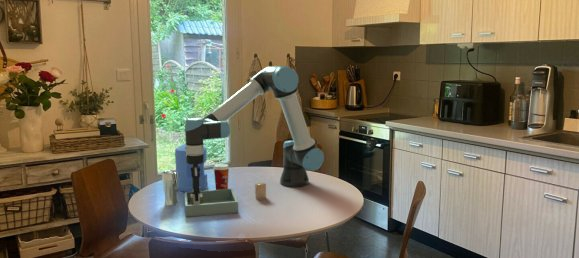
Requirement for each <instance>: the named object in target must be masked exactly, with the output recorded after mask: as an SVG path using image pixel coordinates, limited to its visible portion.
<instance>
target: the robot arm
mask: <svg viewBox="0 0 579 258" xmlns="http://www.w3.org/2000/svg"><path fill="white" fill-rule="evenodd" d="M299 79H300V78H299V76H298V73H297V72H296V70H295V69H294V68H292V67H291V66H286V65H269V66H267V67H265V68H263V69H261V70H260V71H259V72H258V73H257V74H255V75H254V76H252V77H251V78H250V79H249V83H247V84H246V85H244V86H243V87H242V88H241V89H239V90H238V91H237V92H236V93H235V94H233V95H232V96H230V97H229V98H228V99H227V100H225V101H224V102H223V103H221V104H220V105H219V106H218V107H217V108H215V109H214V110H213V111H211V112H210V113H208V114H207V115H206V116H203V117H190V118H187V119H185V120H184V121H185V122H184V136H185V143H186V147H184V149H186V154H187V155H186V163H187V164H192V167H191V175H192V178H193V185H192V186H193V193H192V194H193V202H194V204H200V191H199V189H200V187H199V177H200V166H198V164H201V163H203V162H204V155H203V153H204V147H205V146H204V141H205V140H216V139H226V138H228V137H230V134H231V127H230V123H229V122H228V120H229V119H231V118H232V117H233V116H234V115H236V114H237V113H239V112H240V111H241V110H242V109H243V108H245V107H246V106H247V105H248V104H250V103H251V102H252V101H253V100H255V99H256V98H257V97H258V96H260V95H261V96H263V95H265V93H267V92H270V91H272V94H273V97H274V98H275V99H276V100H278V101H279V104H280V106H281V110H282V112H283V115H284V118H285V121H286V123H287V127H288V129H289V133H290V135H291V138H292V140H285V141H284V142H283V146H282V147H283V148H282V150H283V151H282V152H283V161H282V163H283V170H282V171H281V176H280V181H279V184H280V185H282V186H284V187H291V188H293V187H295V188H296V187H299V188H300V187H305V186H308V185H309V184H308V183H310V182H309V180H310V179H309V176H308V171H310V172H313V171H314V172H315V171H317V170H319V169H320V168H321V167H322V165H323V163H324V160H325V154H324V152H323V150H321V149H320V148H318V146H317V143H316V140H315V139H314V138H311V135H310V131H309V129H308V125H307V123H306V120H305V117H304V114H303V111H302V110H303V109H302V108H301V105H300V101H299V99H298V96H297V93H298V92H299V88H298V84H299Z"/></svg>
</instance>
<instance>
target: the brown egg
mask: <svg viewBox="0 0 579 258" xmlns="http://www.w3.org/2000/svg"><path fill="white" fill-rule="evenodd" d="M254 185H255V186H254V187H255V200H256V201H257V200H258V201H263V200H266V199H267V184H266V182H256V183H255V184H254Z"/></svg>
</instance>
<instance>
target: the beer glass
mask: <svg viewBox="0 0 579 258" xmlns="http://www.w3.org/2000/svg"><path fill="white" fill-rule="evenodd" d="M161 176H162V177H161V180H162V189H163V192H164V205H165V206H166V207H172V206H173V207H174V206H177V205H179V200H178V191H179V190H178V173H177V171H176V169H175V170H174V169H170V170H164V171H162V175H161Z"/></svg>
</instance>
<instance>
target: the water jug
mask: <svg viewBox="0 0 579 258" xmlns="http://www.w3.org/2000/svg"><path fill="white" fill-rule="evenodd" d="M184 147H186V142H185V143H183V144H181V145H179V146H177V147H176V148H175V150H174V157H175V171H177V173H178V191H180V192H183V193H185V192H192V191H193V186H192V185H193V178H192V175H191V167H192V164H187V163H186V155H187V154H186V149H184ZM207 151H208V150H207V147H206V146H204V153H203V155H204V162H203V163H201V164H198V166H200V177H199V187H200V189H199V191H205V190H207V188H208V186H209V183H208V173H207V172H205V164H206V162H207V156H208V155H207Z"/></svg>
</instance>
